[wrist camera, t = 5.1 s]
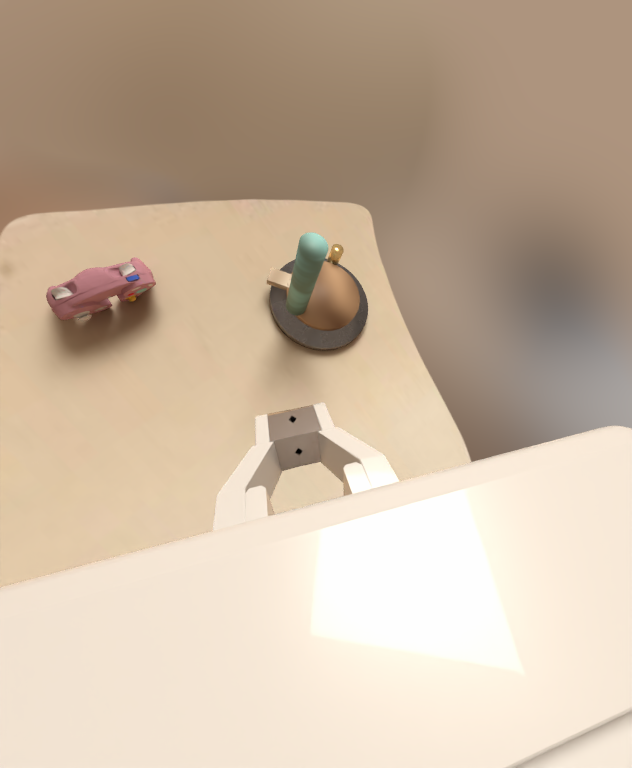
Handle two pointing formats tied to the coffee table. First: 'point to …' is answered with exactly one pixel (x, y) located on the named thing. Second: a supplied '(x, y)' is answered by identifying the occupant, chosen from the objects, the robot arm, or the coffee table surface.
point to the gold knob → (335, 254)
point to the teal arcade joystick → (317, 287)
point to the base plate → (310, 335)
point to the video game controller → (99, 289)
